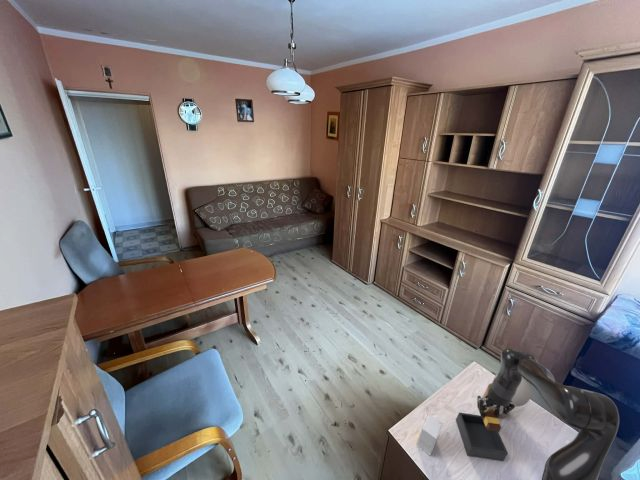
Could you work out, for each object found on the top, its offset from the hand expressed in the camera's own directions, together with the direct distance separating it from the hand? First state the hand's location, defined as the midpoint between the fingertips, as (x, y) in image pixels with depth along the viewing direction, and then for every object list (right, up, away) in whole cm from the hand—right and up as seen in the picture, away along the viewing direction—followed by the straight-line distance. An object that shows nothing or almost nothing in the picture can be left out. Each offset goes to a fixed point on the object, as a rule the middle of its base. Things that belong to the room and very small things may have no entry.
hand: (488, 415), depth 111 cm
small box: (-24, -16, +5) cm, 29 cm away
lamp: (+17, -11, +20) cm, 28 cm away
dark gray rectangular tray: (0, -16, +7) cm, 17 cm away
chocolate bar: (0, -1, 0) cm, 1 cm away
